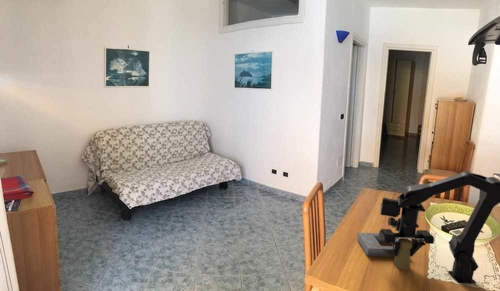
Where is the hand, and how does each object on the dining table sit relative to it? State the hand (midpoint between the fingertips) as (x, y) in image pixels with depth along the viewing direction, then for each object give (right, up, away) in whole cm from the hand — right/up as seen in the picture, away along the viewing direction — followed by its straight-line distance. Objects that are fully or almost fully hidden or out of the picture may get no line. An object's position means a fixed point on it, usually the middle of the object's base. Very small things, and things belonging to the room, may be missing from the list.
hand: (403, 255), depth 122 cm
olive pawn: (0, -4, +1) cm, 4 cm away
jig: (-3, -1, +13) cm, 13 cm away
